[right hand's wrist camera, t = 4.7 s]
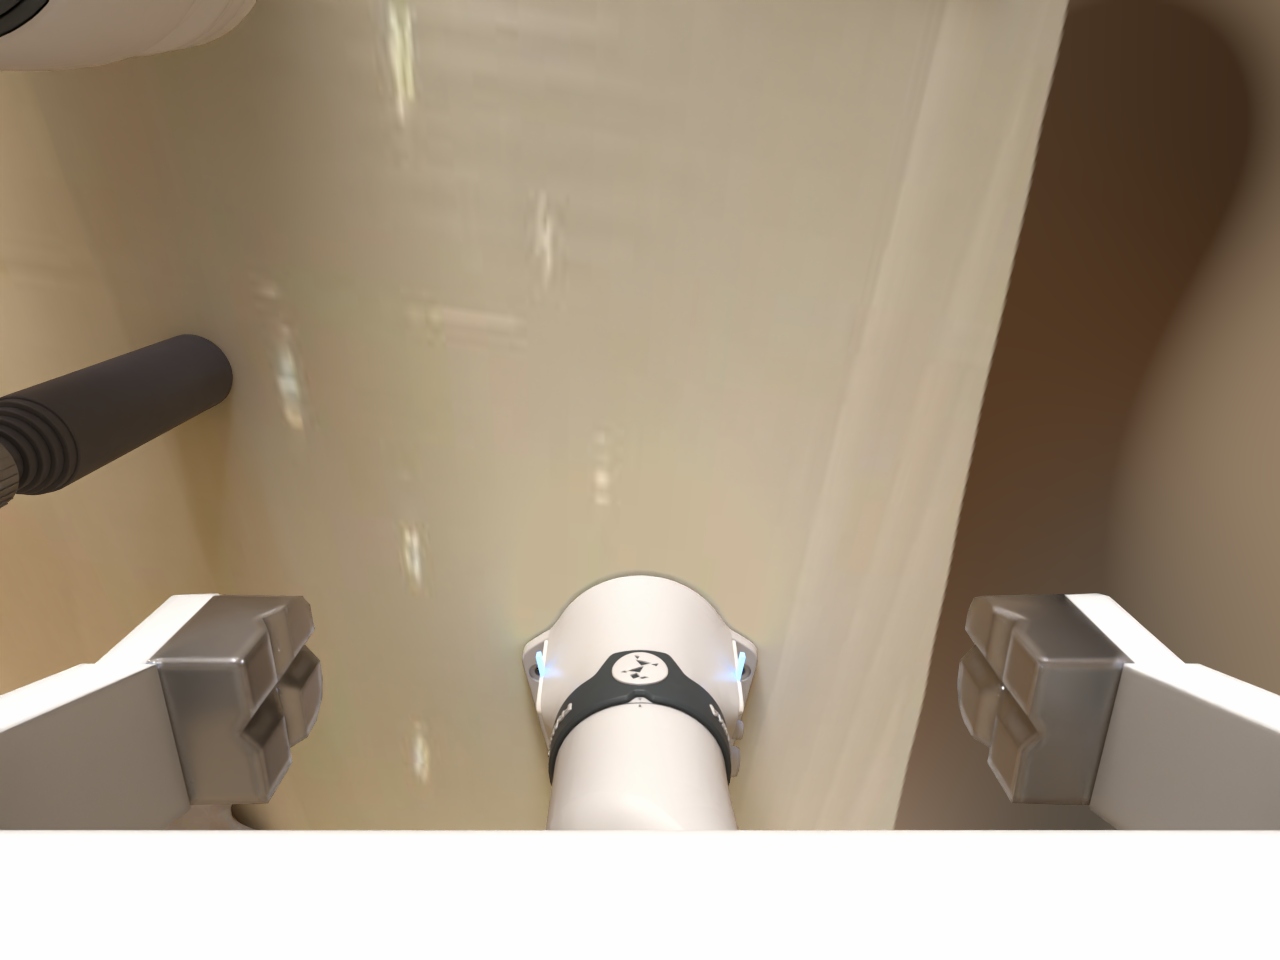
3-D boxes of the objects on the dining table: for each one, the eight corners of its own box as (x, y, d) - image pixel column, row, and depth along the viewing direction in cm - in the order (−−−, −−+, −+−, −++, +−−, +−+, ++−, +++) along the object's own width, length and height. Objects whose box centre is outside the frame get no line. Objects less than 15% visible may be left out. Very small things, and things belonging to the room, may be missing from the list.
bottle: (230, 338, 57) (-7, 433, 36) (235, 411, 59) (12, 541, 38) (153, 330, 57) (-130, 420, 36) (160, 403, 59) (-105, 529, 38)
